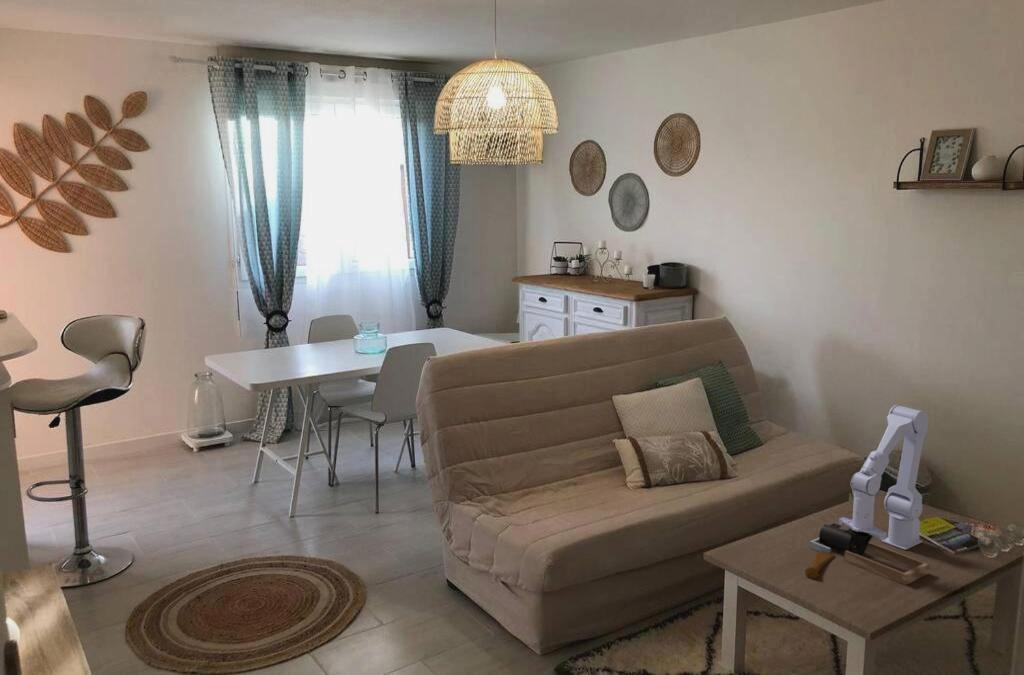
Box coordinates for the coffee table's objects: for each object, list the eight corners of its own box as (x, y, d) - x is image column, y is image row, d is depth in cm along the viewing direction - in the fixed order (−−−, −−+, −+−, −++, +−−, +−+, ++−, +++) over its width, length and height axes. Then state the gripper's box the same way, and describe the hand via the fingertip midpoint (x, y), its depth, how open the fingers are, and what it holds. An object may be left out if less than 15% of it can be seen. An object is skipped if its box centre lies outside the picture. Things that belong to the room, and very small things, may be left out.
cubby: (867, 550, 257) (868, 541, 257) (928, 573, 242) (929, 563, 241) (844, 560, 251) (844, 551, 250) (905, 585, 235) (906, 575, 234)
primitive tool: (816, 552, 257) (817, 542, 257) (835, 556, 255) (835, 545, 254) (804, 578, 241) (804, 567, 240) (824, 582, 238) (824, 571, 238)
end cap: (818, 547, 260) (819, 526, 259) (829, 540, 265) (830, 520, 264) (849, 557, 253) (850, 536, 252) (860, 550, 258) (861, 529, 256)
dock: (834, 536, 267) (834, 531, 267) (853, 544, 262) (854, 538, 261) (809, 547, 260) (809, 541, 260) (828, 555, 255) (828, 549, 254)
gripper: (834, 507, 254) (831, 549, 256) (877, 522, 242) (875, 566, 245) (847, 502, 258) (845, 543, 260) (891, 516, 246) (888, 559, 248)
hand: (860, 554), depth 253 cm, fingers closed
